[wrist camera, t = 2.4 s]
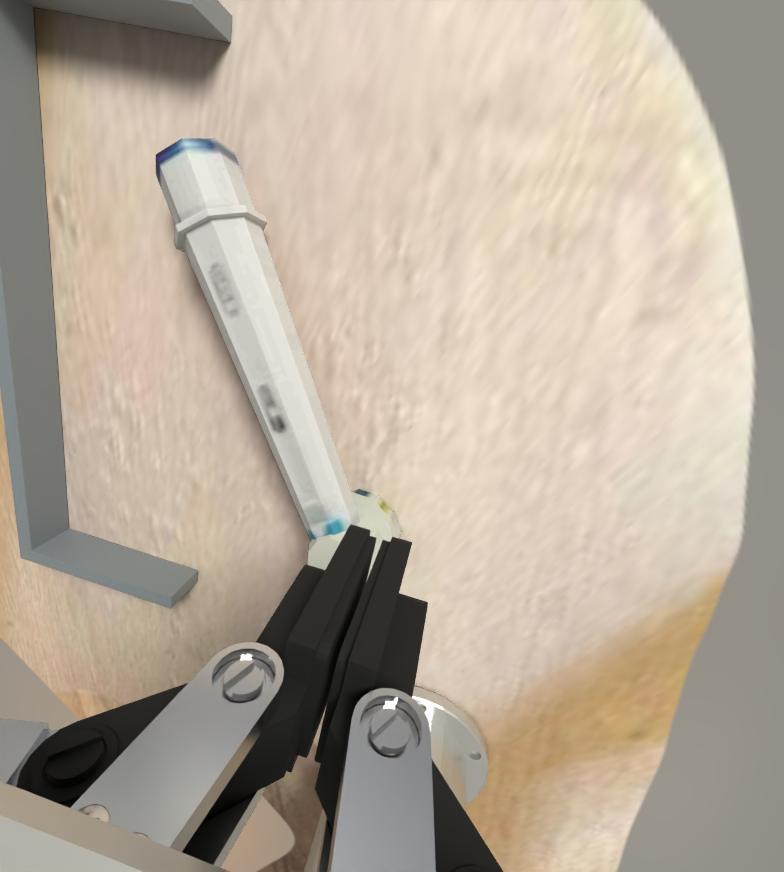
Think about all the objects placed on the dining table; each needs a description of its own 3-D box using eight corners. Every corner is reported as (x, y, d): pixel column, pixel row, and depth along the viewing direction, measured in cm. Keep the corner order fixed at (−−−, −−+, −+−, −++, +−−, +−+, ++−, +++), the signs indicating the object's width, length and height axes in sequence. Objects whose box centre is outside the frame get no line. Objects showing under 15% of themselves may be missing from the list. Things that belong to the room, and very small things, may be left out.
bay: (197, 581, 33) (170, 608, 30) (58, 535, 34) (20, 557, 31) (232, 16, 20) (193, -27, 18) (14, -22, 22) (-55, -67, 19)
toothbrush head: (209, 114, 19) (395, 628, 21) (283, 174, 25) (418, 564, 28) (120, 169, 20) (304, 643, 23) (211, 212, 26) (346, 579, 29)
